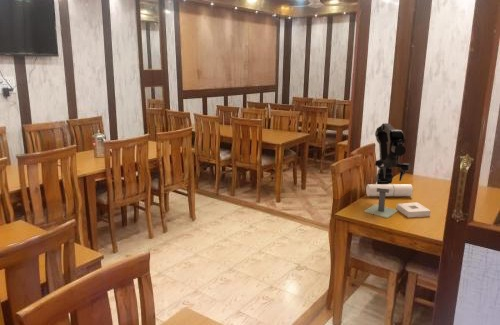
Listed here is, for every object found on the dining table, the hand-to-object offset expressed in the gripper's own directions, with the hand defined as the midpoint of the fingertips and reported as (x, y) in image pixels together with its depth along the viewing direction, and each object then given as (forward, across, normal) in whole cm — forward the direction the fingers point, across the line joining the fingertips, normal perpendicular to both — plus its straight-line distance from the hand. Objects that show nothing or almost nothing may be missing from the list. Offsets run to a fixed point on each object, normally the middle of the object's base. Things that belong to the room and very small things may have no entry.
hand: (391, 179), depth 218 cm
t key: (+13, +2, -18) cm, 22 cm away
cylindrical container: (+9, +5, +17) cm, 20 cm away
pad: (+14, +2, -18) cm, 23 cm away
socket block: (+14, +16, -8) cm, 22 cm away
